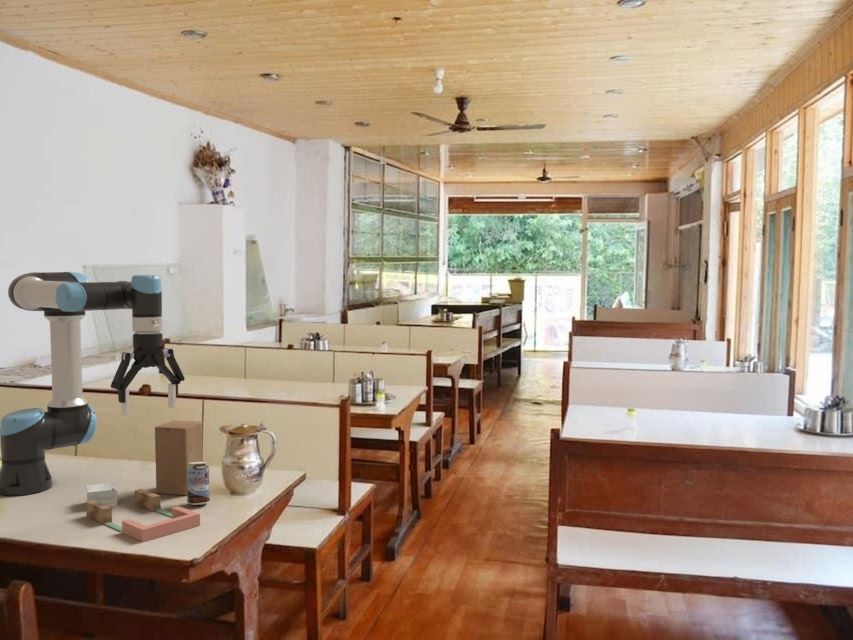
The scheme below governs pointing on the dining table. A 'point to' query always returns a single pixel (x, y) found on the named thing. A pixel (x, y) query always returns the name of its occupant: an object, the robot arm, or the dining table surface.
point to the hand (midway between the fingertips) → (149, 411)
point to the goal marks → (121, 527)
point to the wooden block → (176, 454)
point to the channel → (105, 512)
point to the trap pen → (162, 525)
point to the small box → (103, 494)
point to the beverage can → (198, 483)
